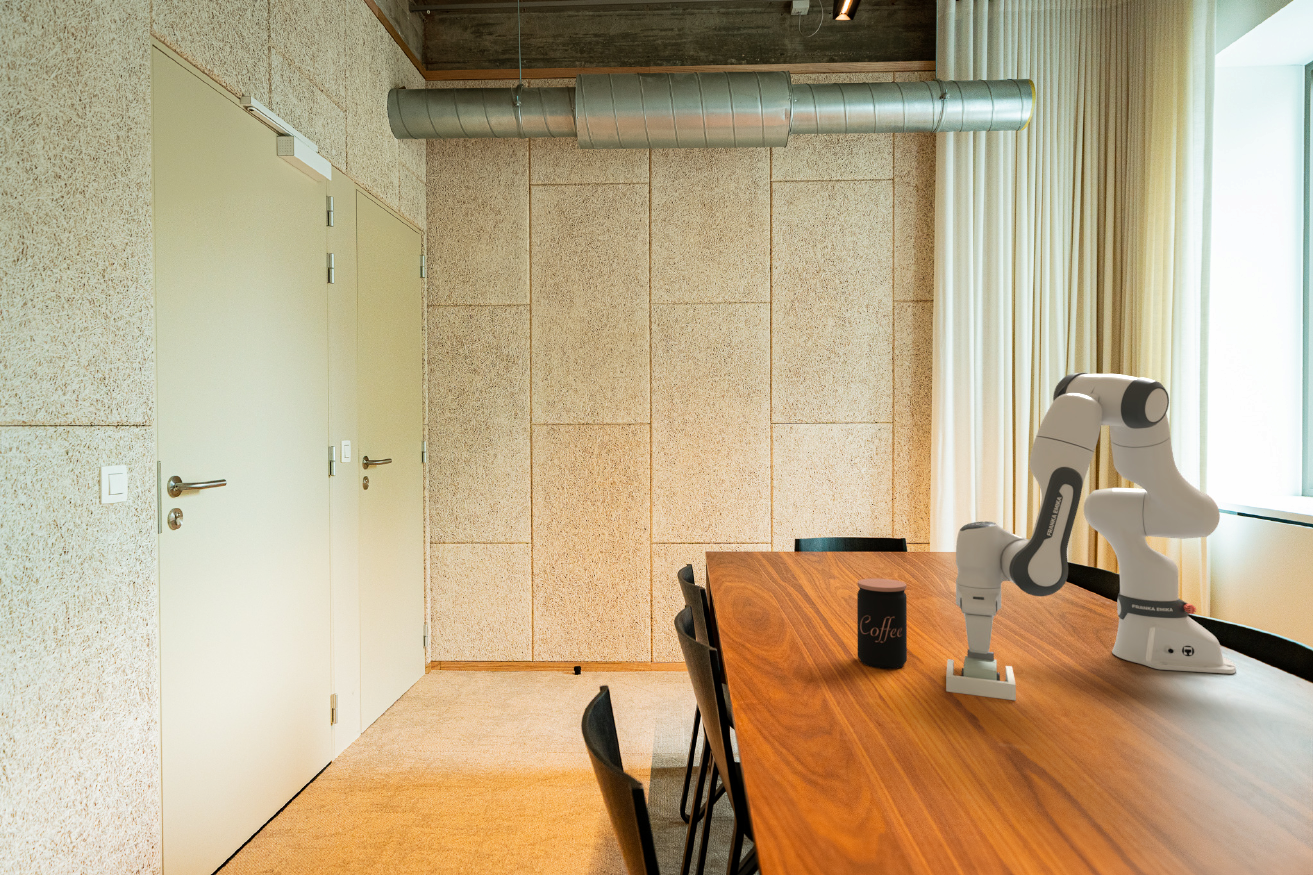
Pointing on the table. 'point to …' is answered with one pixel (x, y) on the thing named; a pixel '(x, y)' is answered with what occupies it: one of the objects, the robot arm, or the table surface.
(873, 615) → the coffee jar
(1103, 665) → the table surface
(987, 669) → the sage cart
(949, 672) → the dock bay
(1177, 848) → the table surface
